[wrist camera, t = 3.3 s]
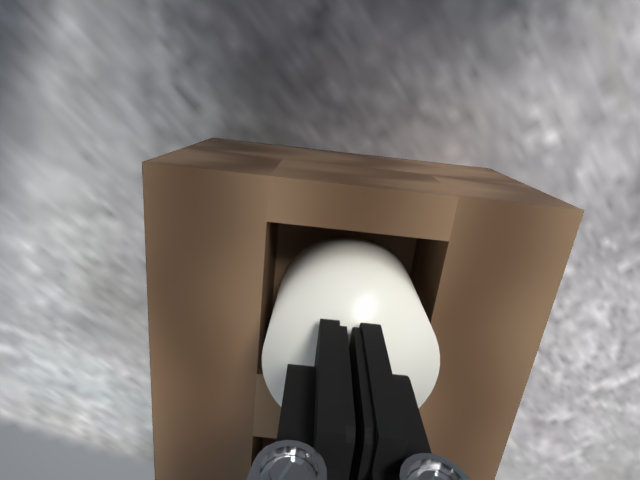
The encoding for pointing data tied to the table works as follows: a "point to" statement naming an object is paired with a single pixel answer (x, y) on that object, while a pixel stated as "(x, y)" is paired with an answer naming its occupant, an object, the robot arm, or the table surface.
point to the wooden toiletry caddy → (312, 226)
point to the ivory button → (349, 310)
